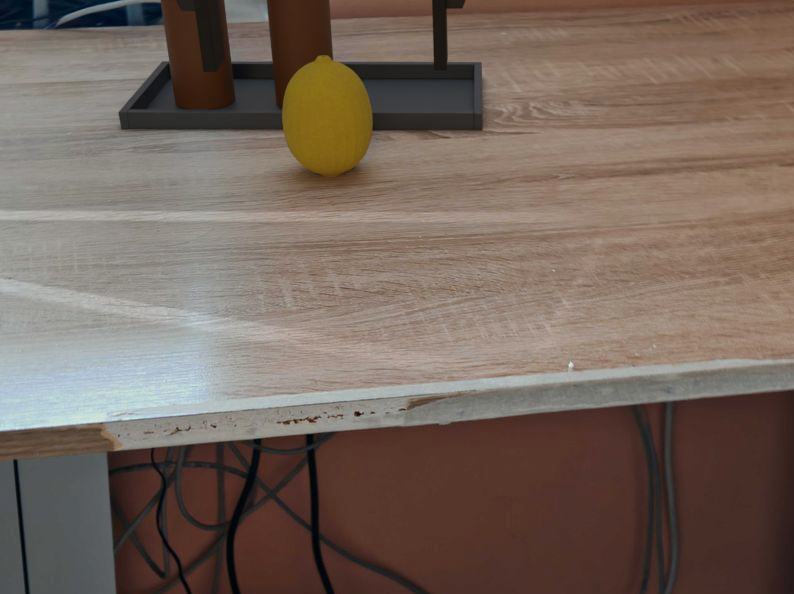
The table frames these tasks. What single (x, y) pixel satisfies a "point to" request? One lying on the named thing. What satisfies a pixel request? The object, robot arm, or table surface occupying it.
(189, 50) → the bottle
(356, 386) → the table surface
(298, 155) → the lemon
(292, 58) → the bottle
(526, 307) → the table surface
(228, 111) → the tray
